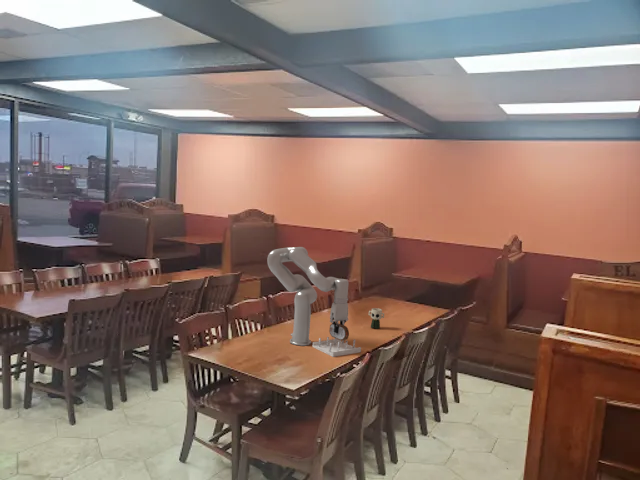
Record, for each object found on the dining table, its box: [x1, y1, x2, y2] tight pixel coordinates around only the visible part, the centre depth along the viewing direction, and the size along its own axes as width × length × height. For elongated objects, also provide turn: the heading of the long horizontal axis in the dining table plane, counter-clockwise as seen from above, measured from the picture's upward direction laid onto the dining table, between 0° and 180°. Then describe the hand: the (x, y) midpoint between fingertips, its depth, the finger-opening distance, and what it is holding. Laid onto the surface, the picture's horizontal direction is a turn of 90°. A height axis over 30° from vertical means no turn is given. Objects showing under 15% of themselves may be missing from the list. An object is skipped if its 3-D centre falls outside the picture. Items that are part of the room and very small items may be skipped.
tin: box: [328, 322, 350, 341], centre depth 295 cm, size 15×3×8 cm, turn 37°
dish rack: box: [312, 336, 362, 358], centre depth 296 cm, size 19×20×6 cm
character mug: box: [368, 307, 385, 330], centre depth 350 cm, size 11×7×13 cm, turn 68°
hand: (338, 332), depth 295 cm, fingers closed on tin, 2 cm apart
